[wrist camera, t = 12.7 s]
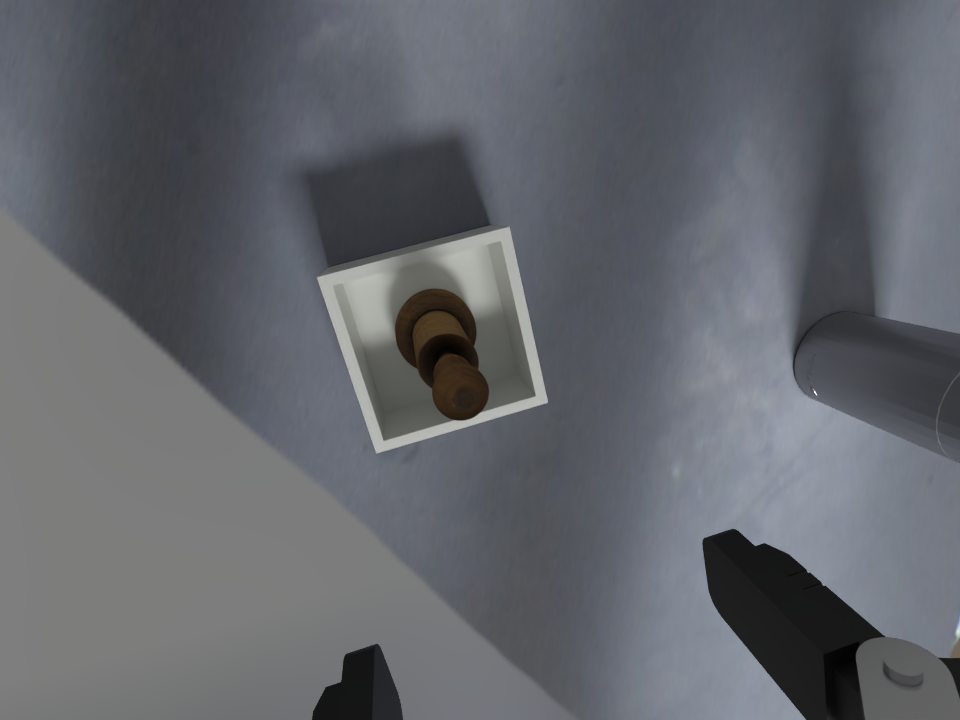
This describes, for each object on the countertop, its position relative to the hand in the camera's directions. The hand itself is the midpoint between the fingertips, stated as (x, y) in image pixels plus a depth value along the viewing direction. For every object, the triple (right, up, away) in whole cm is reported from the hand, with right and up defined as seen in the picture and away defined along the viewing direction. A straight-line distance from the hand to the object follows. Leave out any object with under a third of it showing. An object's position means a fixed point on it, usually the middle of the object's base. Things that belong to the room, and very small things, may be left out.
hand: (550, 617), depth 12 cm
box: (-6, +9, +32) cm, 34 cm away
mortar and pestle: (-5, +9, +32) cm, 33 cm away
